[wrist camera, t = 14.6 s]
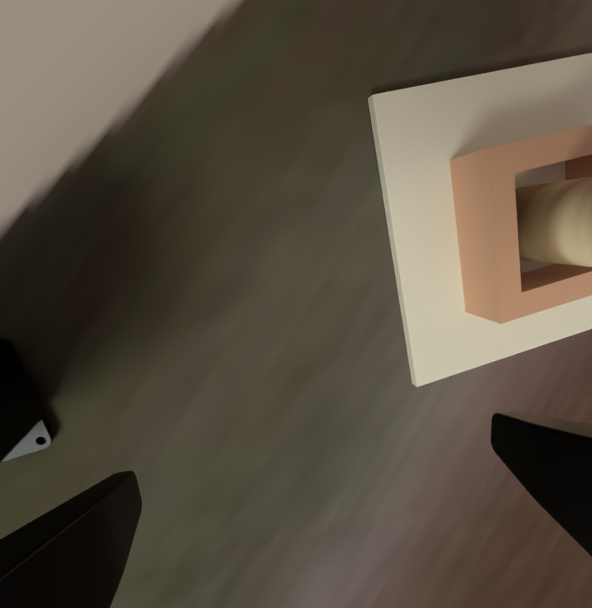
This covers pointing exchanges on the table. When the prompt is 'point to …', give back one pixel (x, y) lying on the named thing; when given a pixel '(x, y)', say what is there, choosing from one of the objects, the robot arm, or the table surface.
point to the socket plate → (481, 210)
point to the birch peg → (556, 222)
